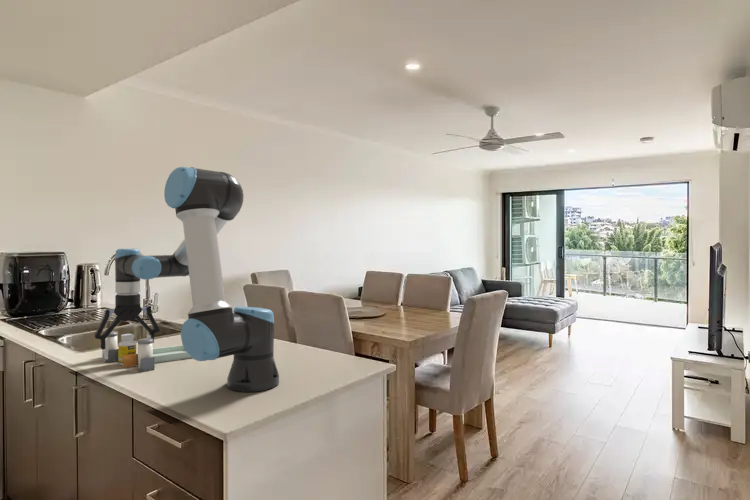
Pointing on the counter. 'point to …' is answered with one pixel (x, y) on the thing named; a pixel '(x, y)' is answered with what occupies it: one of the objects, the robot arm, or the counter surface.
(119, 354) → the supplement bottle
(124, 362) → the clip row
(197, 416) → the counter surface
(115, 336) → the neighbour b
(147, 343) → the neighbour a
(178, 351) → the tray
